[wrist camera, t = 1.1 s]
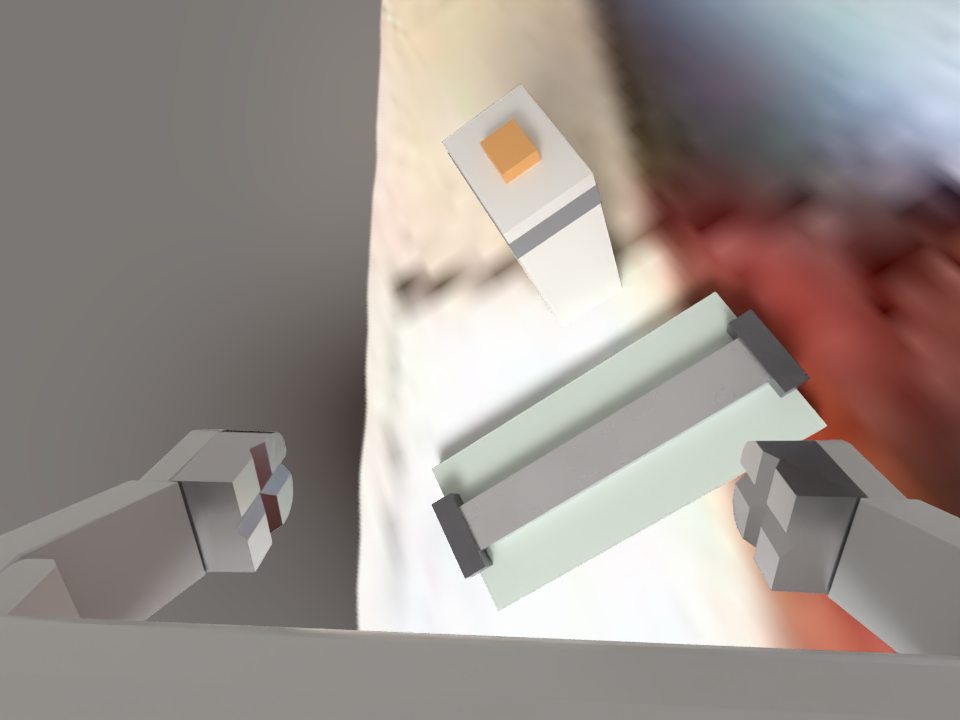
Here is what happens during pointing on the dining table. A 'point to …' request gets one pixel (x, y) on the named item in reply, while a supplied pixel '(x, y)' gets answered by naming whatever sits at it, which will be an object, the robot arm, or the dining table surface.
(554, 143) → the block
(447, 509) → the rail
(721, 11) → the dining table surface
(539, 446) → the mounting board
